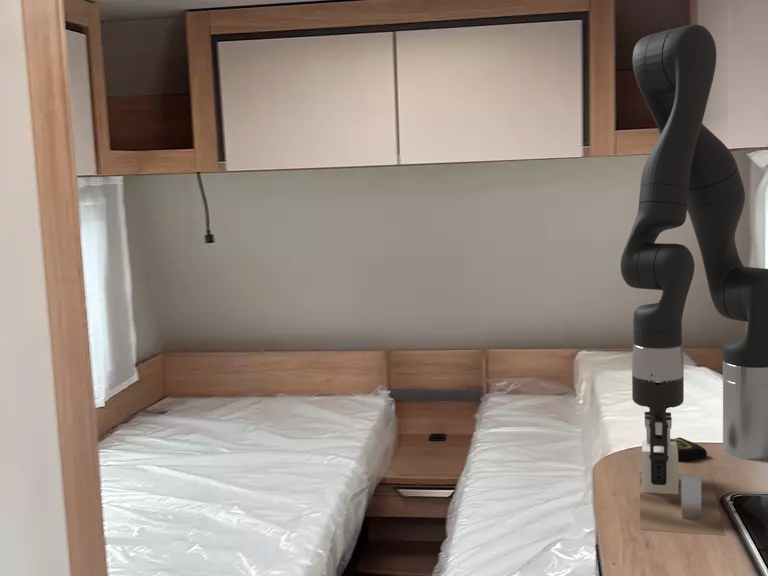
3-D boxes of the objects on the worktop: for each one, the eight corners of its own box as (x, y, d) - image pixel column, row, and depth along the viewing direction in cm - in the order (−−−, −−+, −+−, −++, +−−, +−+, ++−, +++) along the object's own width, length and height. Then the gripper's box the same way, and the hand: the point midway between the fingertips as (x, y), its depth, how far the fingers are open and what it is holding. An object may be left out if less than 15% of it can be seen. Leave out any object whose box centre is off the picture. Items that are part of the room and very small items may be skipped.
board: (639, 480, 137) (639, 471, 137) (711, 484, 134) (711, 475, 133) (640, 539, 116) (640, 529, 116) (725, 545, 113) (725, 535, 113)
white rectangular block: (642, 479, 133) (641, 440, 132) (676, 481, 132) (676, 441, 131) (642, 492, 128) (642, 451, 127) (678, 494, 127) (678, 452, 126)
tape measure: (709, 467, 141) (709, 445, 141) (675, 473, 139) (674, 452, 139) (683, 454, 148) (683, 434, 147) (650, 460, 146) (649, 440, 145)
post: (681, 510, 121) (680, 474, 120) (700, 511, 120) (699, 475, 119) (682, 518, 119) (681, 481, 118) (701, 519, 118) (701, 482, 117)
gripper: (632, 361, 135) (633, 457, 138) (631, 384, 122) (632, 489, 124) (681, 362, 133) (681, 459, 135) (686, 385, 120) (686, 493, 122)
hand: (658, 473), depth 130 cm, fingers open, 8 cm apart
